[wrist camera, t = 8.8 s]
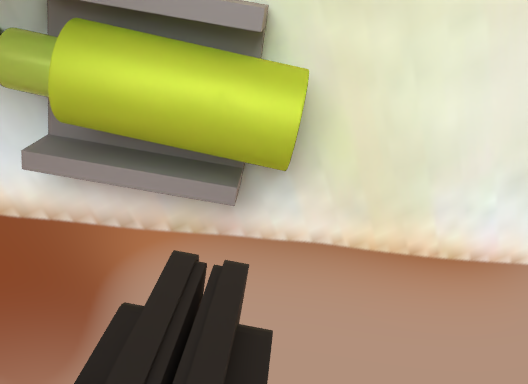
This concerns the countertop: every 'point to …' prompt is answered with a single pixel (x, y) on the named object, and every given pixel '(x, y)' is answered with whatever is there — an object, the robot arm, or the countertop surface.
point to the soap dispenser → (160, 90)
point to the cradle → (135, 150)
